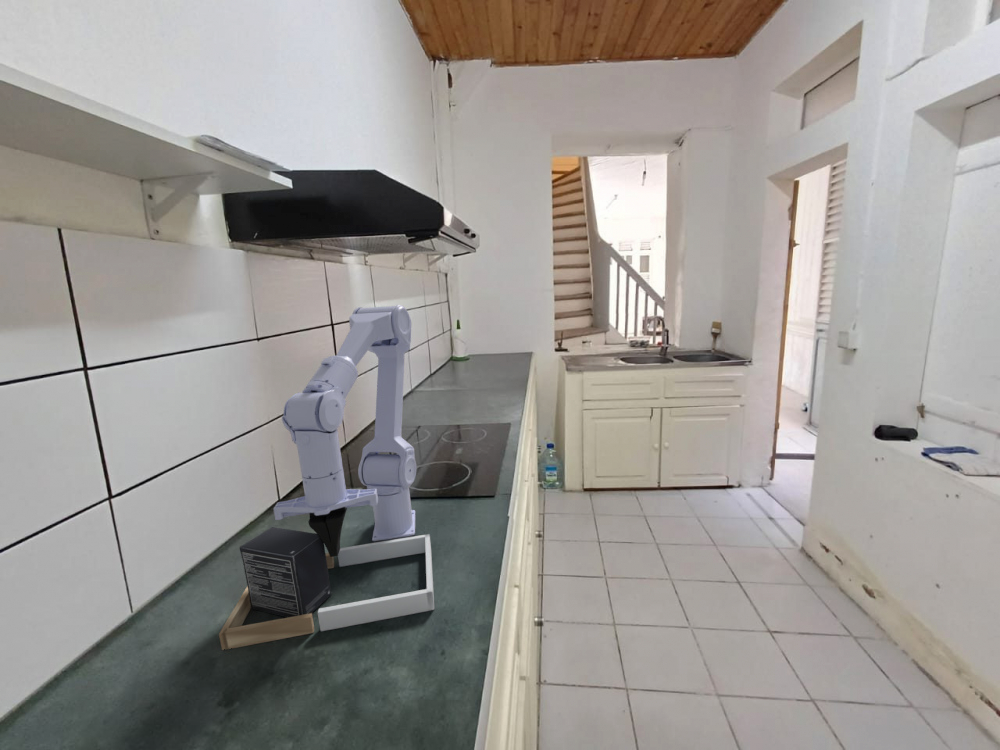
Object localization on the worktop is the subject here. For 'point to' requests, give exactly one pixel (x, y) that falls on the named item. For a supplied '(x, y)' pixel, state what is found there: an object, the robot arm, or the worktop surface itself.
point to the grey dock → (388, 604)
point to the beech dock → (263, 624)
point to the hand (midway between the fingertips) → (335, 552)
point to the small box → (286, 572)
